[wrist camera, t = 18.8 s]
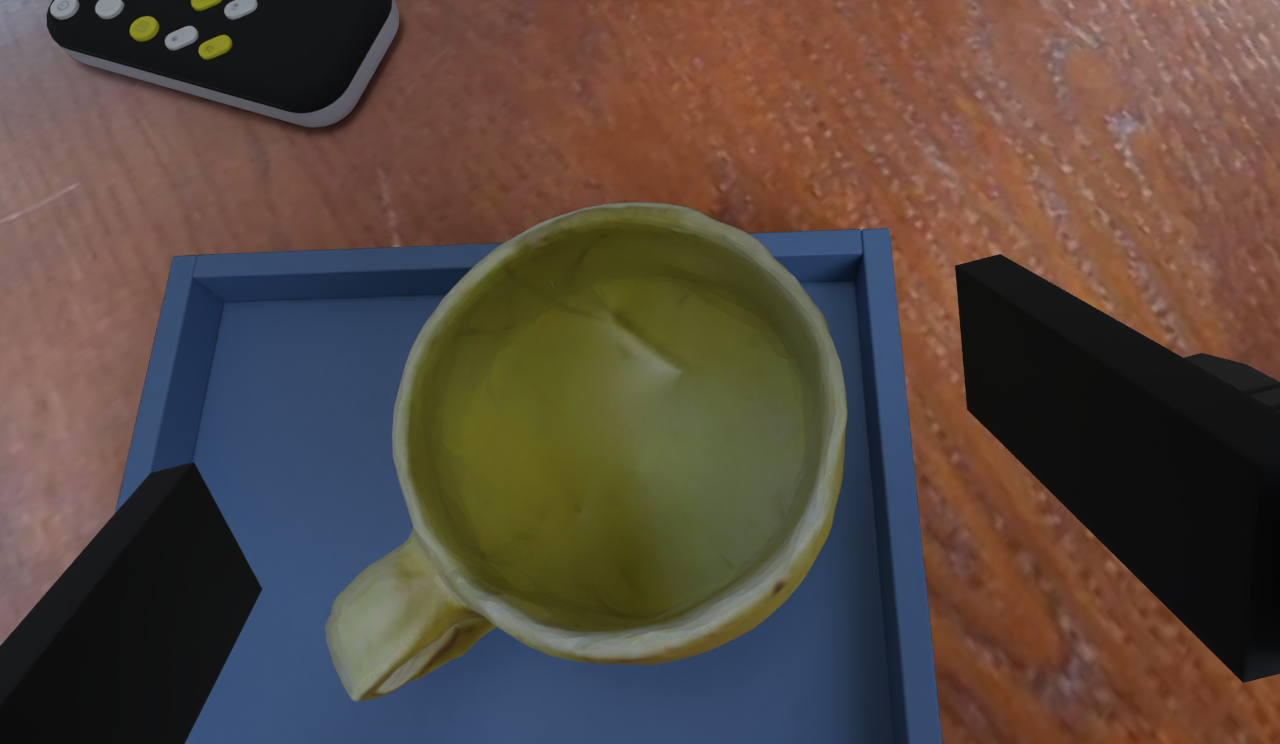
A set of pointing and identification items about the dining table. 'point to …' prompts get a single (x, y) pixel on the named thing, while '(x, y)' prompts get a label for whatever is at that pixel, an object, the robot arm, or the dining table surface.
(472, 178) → the dining table surface
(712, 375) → the mug
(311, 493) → the blue tray
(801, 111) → the dining table surface
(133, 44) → the remote control
